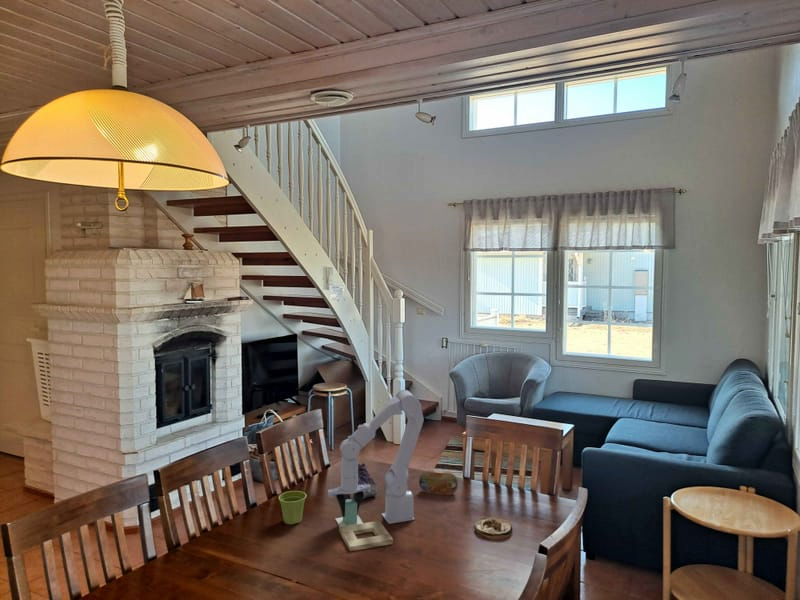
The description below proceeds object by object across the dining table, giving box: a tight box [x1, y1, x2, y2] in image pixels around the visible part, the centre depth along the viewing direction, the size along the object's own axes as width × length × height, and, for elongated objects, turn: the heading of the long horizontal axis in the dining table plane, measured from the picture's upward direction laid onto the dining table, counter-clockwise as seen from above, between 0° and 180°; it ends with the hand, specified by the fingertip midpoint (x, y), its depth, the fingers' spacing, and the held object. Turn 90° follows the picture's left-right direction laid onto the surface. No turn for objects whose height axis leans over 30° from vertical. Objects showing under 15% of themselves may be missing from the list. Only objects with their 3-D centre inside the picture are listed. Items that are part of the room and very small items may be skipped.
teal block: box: [342, 498, 357, 525], centre depth 190 cm, size 4×4×7 cm
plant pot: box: [278, 490, 308, 525], centre depth 191 cm, size 9×9×9 cm
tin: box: [418, 470, 459, 496], centre depth 216 cm, size 15×3×8 cm, turn 73°
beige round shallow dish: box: [473, 517, 513, 540], centre depth 184 cm, size 15×15×4 cm
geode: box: [349, 462, 378, 499], centre depth 217 cm, size 20×12×10 cm, turn 14°
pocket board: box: [338, 520, 394, 552], centre depth 180 cm, size 14×14×1 cm
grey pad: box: [335, 514, 364, 528], centre depth 190 cm, size 8×8×1 cm
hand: (349, 514), depth 190 cm, fingers closed on teal block, 4 cm apart
